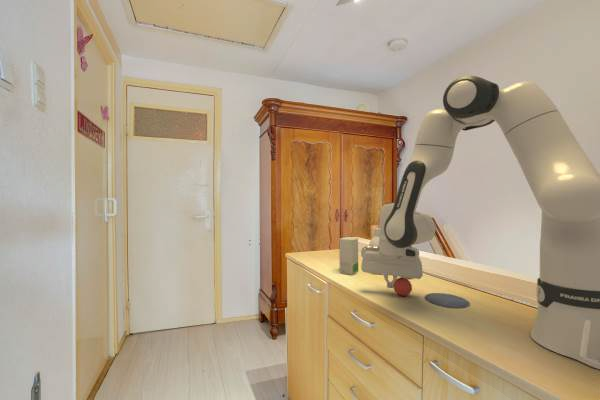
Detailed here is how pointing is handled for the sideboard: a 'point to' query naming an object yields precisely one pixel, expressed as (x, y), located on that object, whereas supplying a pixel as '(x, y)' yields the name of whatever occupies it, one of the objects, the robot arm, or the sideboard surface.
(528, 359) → the sideboard surface
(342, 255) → the skincare box
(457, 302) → the dark gray round plate
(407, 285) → the ball
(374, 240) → the bath foam
